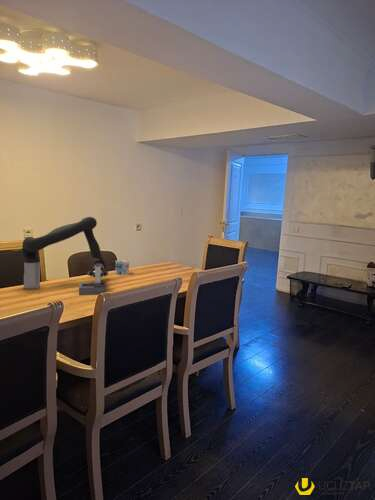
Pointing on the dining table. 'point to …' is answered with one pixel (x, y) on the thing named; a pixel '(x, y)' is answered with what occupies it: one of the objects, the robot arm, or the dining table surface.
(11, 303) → the dining table surface
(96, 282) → the steel post
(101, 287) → the keyhole board
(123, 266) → the light bulb box
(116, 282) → the dining table surface
